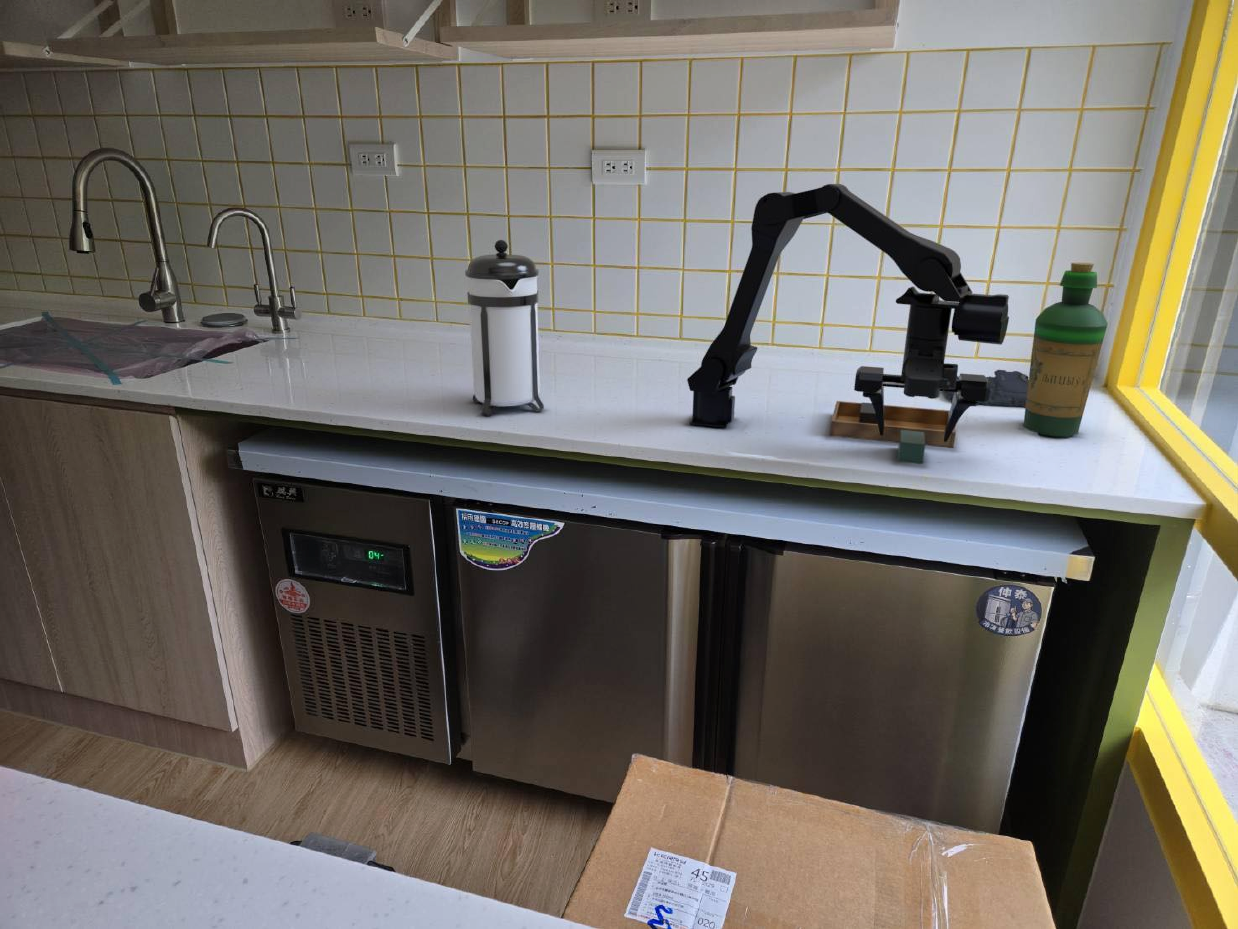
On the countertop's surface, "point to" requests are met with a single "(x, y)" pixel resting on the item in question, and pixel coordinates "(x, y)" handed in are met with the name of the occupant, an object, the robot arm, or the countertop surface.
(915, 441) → the green block
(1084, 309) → the bottle
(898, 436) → the wooden tray
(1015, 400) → the dark slate chunk
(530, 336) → the coffee press
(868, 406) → the dark grey block
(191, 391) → the countertop surface
